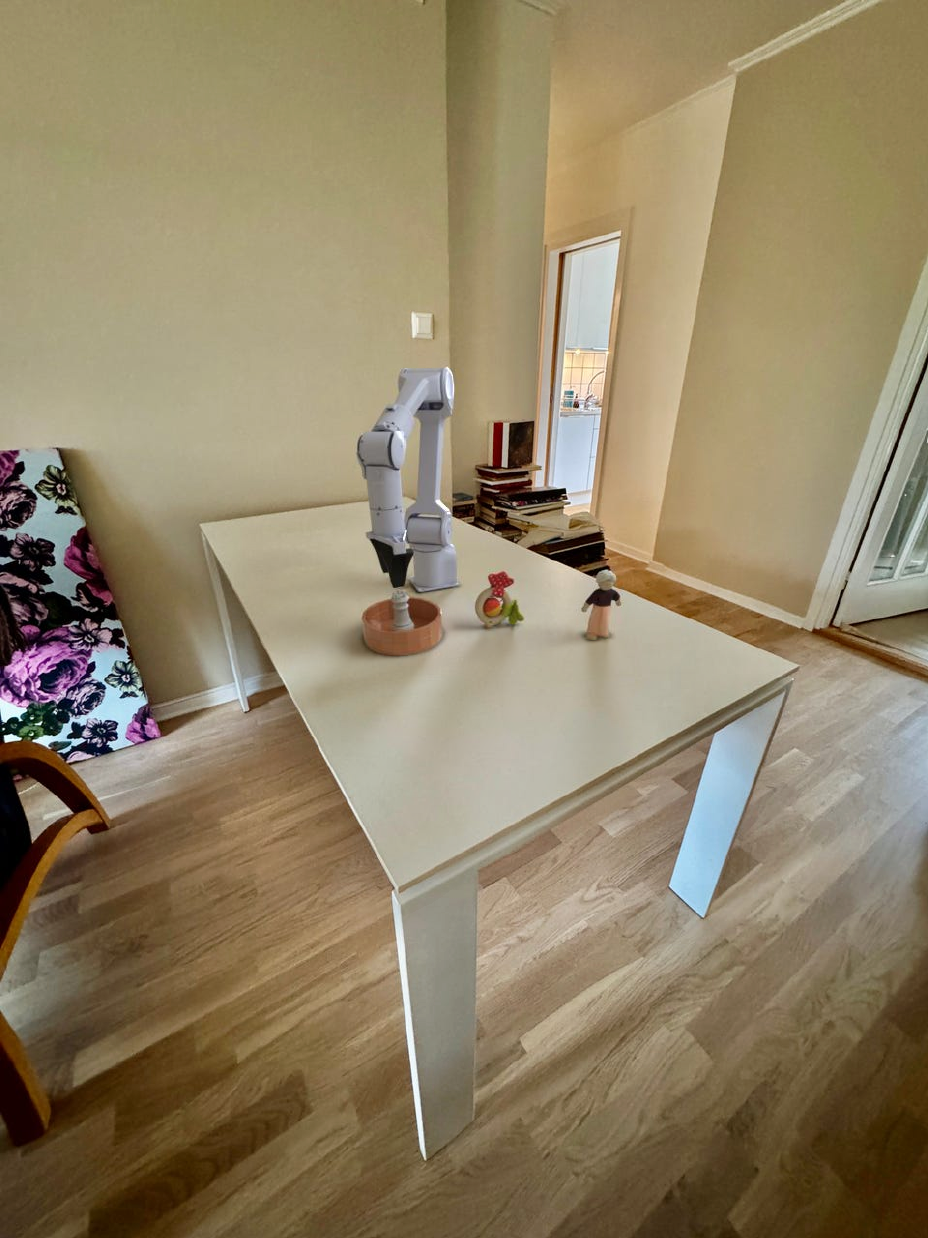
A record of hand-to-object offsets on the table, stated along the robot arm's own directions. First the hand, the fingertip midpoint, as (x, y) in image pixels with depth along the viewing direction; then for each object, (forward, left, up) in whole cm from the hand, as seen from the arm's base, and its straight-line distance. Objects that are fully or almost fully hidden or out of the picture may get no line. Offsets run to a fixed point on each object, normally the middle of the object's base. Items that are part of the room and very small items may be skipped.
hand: (393, 579), depth 89 cm
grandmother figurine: (-33, +19, -10) cm, 39 cm away
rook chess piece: (0, +5, -9) cm, 10 cm away
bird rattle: (-18, +8, -10) cm, 22 cm away
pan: (0, +5, -9) cm, 11 cm away
